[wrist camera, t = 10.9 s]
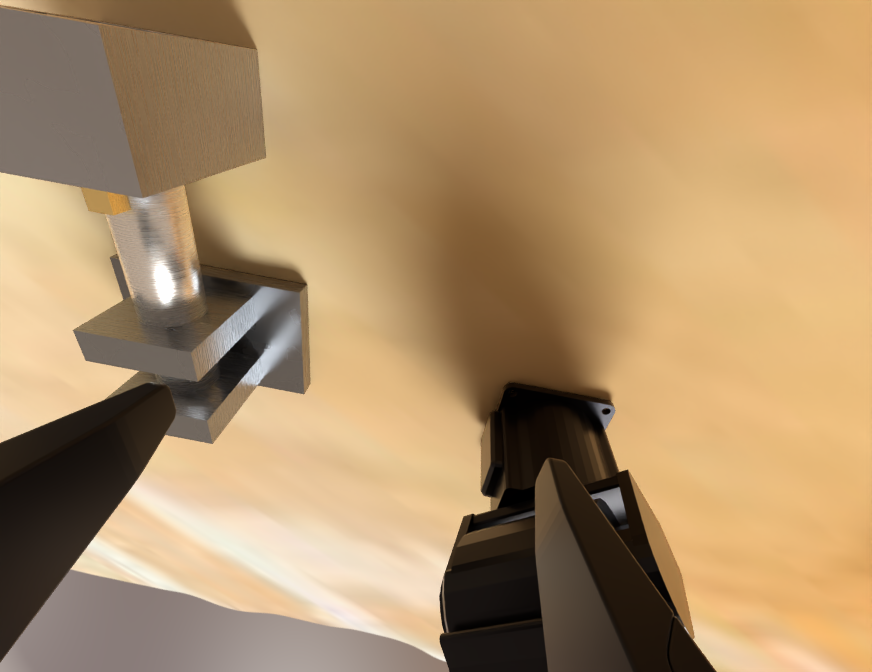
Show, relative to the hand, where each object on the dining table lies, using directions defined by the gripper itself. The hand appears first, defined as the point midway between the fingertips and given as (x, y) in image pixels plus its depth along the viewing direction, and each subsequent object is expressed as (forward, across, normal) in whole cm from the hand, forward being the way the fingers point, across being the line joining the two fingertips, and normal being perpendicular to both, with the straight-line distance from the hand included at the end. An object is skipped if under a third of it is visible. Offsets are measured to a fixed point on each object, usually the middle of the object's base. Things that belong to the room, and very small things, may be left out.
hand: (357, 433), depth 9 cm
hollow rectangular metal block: (+12, +11, -5) cm, 17 cm away
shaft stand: (+12, +11, +1) cm, 16 cm away
